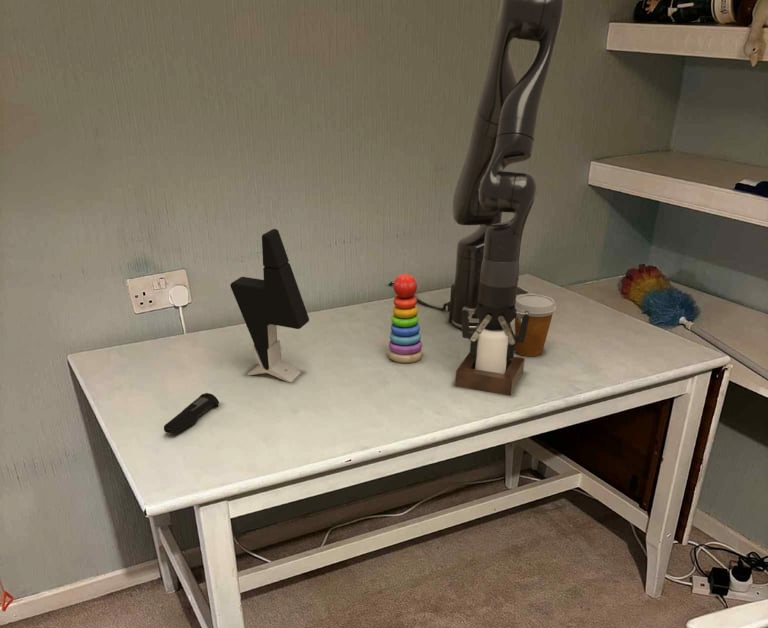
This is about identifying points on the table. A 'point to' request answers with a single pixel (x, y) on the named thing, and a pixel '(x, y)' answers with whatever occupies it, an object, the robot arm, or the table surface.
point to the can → (492, 351)
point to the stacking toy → (405, 322)
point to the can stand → (489, 376)
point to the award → (271, 307)
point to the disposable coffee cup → (534, 322)
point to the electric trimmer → (191, 413)
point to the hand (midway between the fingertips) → (491, 357)
